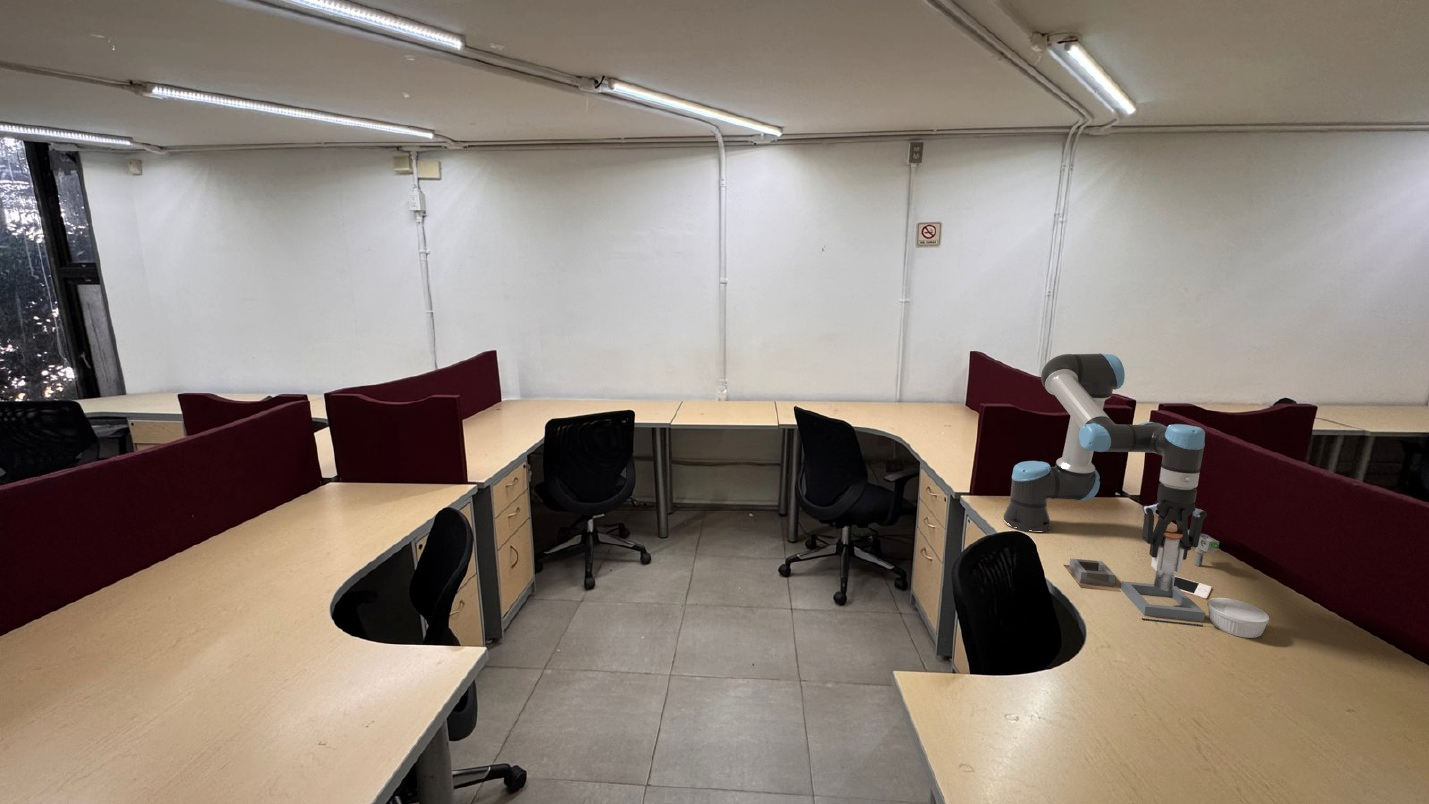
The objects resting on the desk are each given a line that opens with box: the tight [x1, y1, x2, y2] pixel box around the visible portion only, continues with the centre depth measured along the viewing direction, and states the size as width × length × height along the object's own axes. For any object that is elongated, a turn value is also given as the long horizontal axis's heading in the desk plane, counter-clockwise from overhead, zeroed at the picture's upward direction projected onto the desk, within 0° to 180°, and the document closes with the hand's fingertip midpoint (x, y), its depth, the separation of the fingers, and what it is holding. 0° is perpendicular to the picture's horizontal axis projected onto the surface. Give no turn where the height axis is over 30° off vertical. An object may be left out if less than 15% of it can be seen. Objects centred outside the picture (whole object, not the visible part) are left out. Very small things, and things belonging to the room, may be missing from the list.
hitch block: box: [1063, 558, 1122, 593], centre depth 159 cm, size 14×10×5 cm
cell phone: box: [1154, 569, 1212, 600], centre depth 159 cm, size 9×18×1 cm, turn 41°
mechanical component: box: [1188, 529, 1220, 567], centre depth 167 cm, size 3×10×10 cm, turn 174°
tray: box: [1120, 581, 1206, 628], centre depth 145 cm, size 13×13×4 cm
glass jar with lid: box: [1153, 526, 1184, 591], centre depth 142 cm, size 5×5×16 cm
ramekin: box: [1206, 597, 1270, 639], centre depth 137 cm, size 11×11×5 cm
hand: (1165, 569), depth 143 cm, fingers closed on glass jar with lid, 4 cm apart
